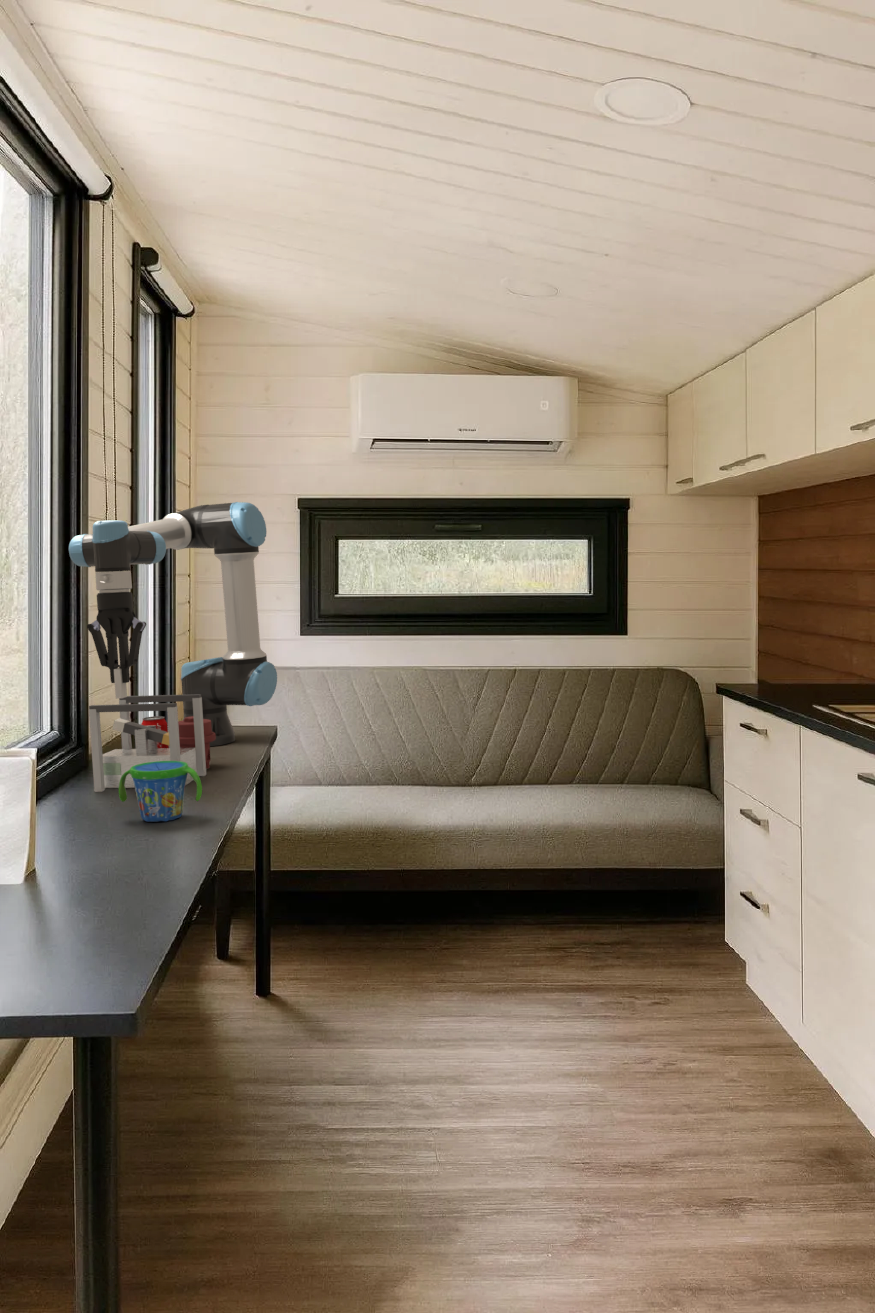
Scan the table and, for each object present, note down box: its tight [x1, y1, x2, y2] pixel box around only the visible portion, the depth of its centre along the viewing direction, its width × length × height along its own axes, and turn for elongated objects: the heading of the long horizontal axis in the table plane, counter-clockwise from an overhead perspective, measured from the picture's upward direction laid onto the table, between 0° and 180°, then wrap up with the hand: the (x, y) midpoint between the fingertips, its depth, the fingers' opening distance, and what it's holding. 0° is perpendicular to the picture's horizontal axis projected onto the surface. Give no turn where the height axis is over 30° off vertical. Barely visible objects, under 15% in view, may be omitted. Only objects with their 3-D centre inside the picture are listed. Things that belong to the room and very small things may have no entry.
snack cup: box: [118, 761, 203, 823], centre depth 187 cm, size 16×10×10 cm
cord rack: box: [88, 694, 207, 793], centre depth 220 cm, size 17×19×19 cm
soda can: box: [140, 715, 170, 748], centre depth 239 cm, size 6×6×12 cm
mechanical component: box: [178, 716, 216, 770], centre depth 235 cm, size 12×10×10 cm
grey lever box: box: [102, 725, 197, 789], centre depth 220 cm, size 9×19×12 cm, turn 84°
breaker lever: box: [112, 717, 170, 747], centre depth 219 cm, size 3×14×2 cm, turn 83°
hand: (121, 697), depth 219 cm, fingers closed
